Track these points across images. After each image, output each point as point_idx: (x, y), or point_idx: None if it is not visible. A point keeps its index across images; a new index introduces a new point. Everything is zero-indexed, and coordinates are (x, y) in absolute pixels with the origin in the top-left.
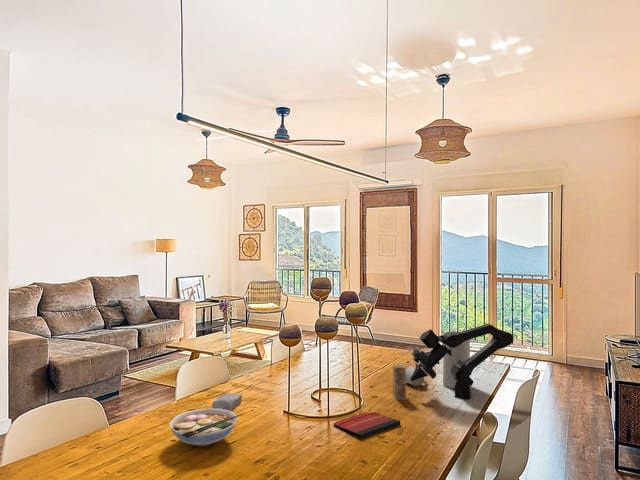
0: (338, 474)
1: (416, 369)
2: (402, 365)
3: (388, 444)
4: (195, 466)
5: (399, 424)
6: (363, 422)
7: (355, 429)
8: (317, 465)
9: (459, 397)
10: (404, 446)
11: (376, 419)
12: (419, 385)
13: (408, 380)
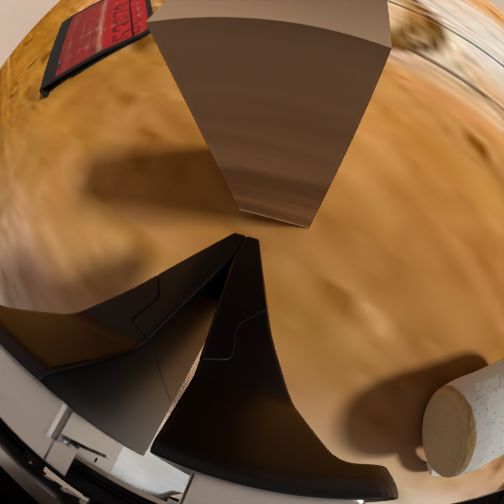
0: (36, 24)
1: (199, 365)
2: (329, 14)
3: (24, 69)
4: None
5: (44, 93)
6: (97, 17)
7: (85, 12)
8: (63, 2)
9: (163, 499)
10: (5, 94)
11: (88, 38)
12: (422, 425)
13: (478, 370)
